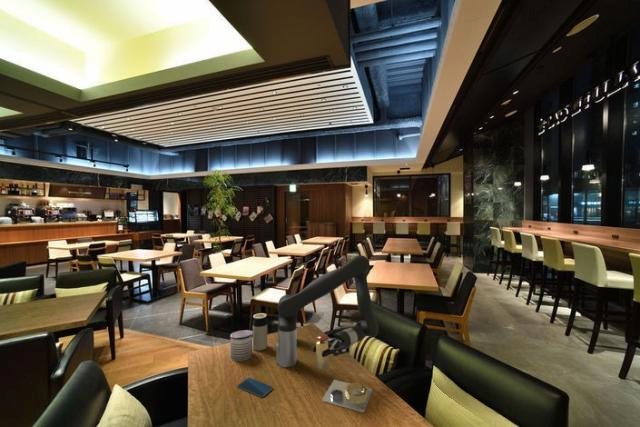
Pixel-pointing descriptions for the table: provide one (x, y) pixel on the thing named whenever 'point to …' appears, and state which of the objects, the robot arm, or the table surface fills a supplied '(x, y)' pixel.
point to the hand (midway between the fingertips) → (317, 352)
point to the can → (241, 345)
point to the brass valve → (321, 346)
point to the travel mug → (259, 331)
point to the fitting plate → (347, 400)
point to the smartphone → (255, 387)
